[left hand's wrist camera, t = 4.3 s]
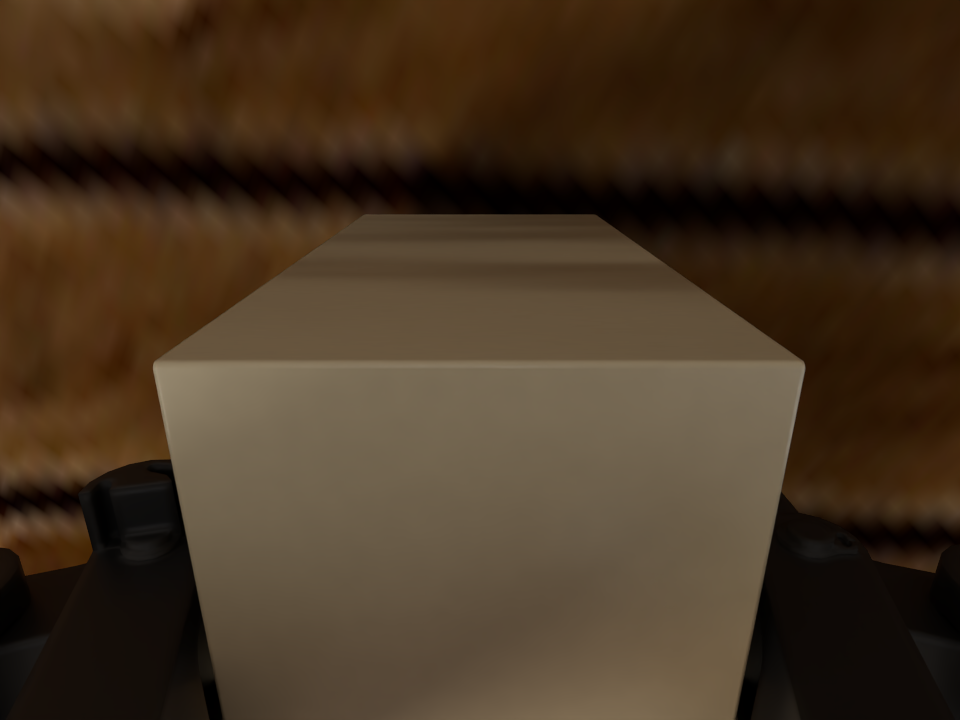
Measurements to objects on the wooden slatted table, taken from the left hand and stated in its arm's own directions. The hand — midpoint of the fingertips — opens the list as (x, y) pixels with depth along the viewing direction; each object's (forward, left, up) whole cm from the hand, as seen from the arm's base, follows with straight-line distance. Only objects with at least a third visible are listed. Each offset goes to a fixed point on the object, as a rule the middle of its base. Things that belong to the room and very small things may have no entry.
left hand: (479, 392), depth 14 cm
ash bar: (0, +8, 0) cm, 8 cm away
